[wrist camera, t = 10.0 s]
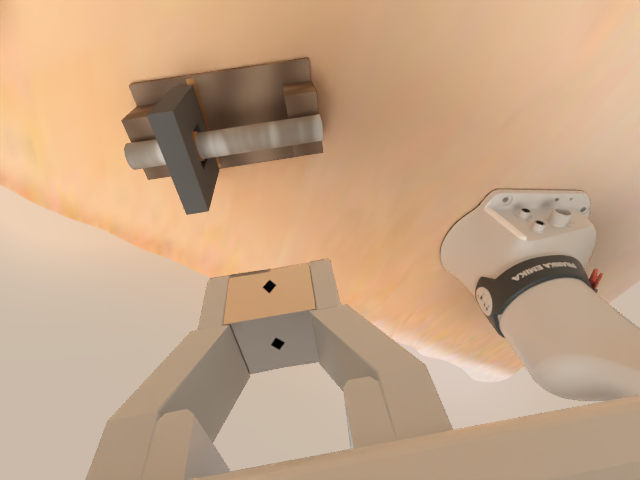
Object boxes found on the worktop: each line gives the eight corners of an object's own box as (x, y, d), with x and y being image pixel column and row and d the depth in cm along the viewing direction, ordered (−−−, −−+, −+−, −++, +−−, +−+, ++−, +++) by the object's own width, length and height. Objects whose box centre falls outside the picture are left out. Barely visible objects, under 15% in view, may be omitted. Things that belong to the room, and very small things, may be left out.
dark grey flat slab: (193, 84, 33) (172, 110, 26) (219, 169, 39) (208, 211, 32) (172, 87, 33) (146, 114, 26) (201, 172, 39) (186, 214, 32)
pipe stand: (307, 57, 36) (317, 73, 29) (318, 149, 42) (328, 180, 35) (131, 83, 35) (99, 105, 28) (168, 173, 41) (149, 209, 34)
